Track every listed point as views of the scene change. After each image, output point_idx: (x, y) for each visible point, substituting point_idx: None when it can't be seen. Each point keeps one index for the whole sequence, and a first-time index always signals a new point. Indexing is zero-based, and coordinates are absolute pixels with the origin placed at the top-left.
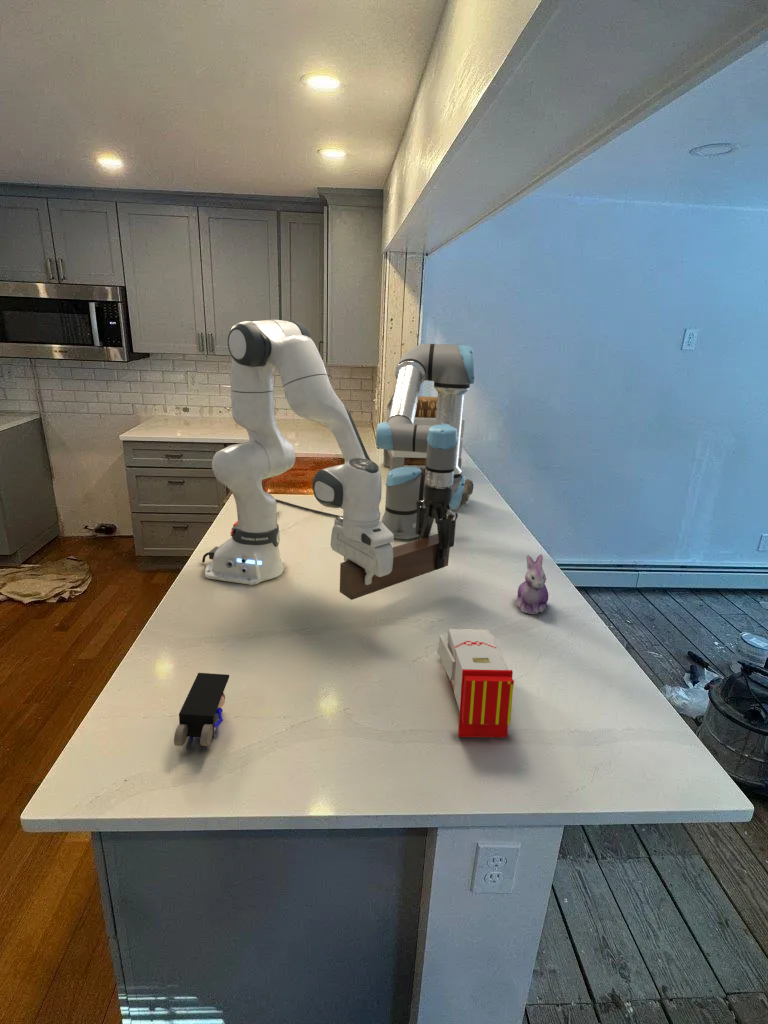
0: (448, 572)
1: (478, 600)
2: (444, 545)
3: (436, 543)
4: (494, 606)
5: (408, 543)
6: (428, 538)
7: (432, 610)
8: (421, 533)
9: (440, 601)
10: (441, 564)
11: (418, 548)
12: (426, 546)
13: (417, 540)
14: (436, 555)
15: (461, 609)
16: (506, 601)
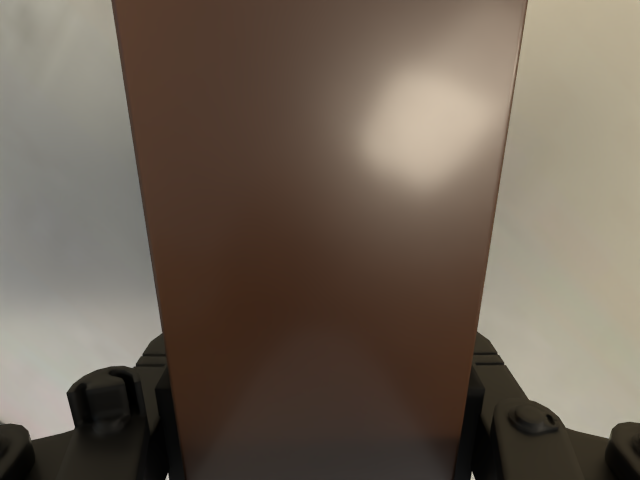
0: None
1: (115, 334)
2: (15, 454)
3: (189, 428)
4: (36, 349)
5: (486, 14)
6: (398, 454)
7: None
8: (562, 474)
9: None
10: None
11: (155, 8)
12: (164, 224)
13: (460, 275)
14: None
15: (79, 211)
16: (52, 414)
